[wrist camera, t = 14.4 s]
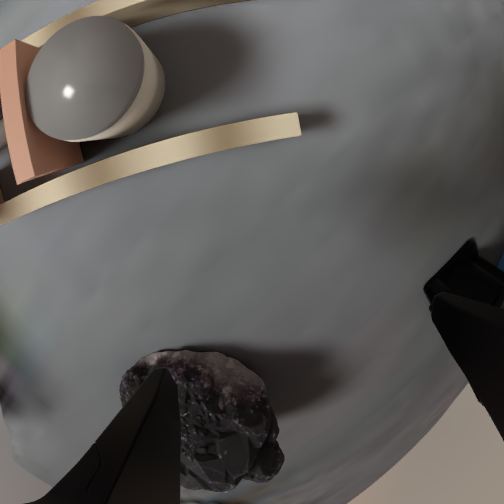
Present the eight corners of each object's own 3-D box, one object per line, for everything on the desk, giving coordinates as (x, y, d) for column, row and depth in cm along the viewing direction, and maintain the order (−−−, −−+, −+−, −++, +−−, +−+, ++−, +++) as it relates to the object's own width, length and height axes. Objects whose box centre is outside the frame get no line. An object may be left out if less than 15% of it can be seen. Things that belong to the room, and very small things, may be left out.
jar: (186, 87, 15) (172, 66, 10) (113, 158, 16) (72, 170, 11) (125, 28, 13) (92, -7, 8) (57, 98, 14) (6, 91, 9)
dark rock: (101, 394, 24) (84, 484, 15) (162, 311, 20) (145, 443, 11) (214, 434, 29) (220, 513, 20) (299, 374, 25) (328, 473, 16)
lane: (252, -15, 13) (268, -66, 7) (287, 135, 17) (321, 136, 11) (-26, 97, 12) (-78, 99, 7) (0, 223, 16) (-50, 254, 11)
